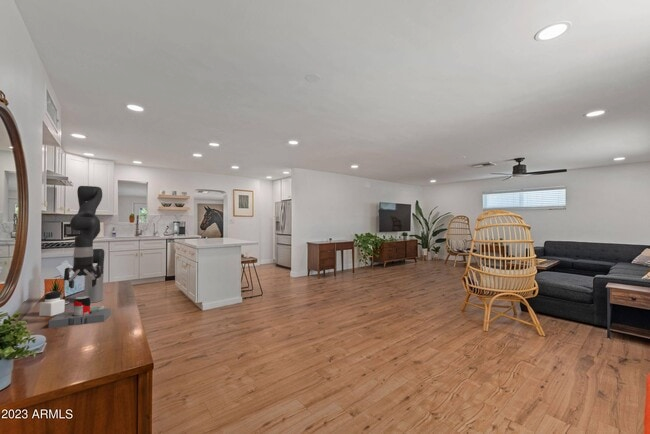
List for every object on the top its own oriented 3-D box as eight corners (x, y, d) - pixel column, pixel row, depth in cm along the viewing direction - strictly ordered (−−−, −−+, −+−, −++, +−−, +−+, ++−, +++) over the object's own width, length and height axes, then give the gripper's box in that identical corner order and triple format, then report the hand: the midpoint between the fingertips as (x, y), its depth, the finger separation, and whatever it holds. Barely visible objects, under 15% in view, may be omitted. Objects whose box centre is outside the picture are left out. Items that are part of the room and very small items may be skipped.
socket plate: (48, 328, 129) (48, 320, 129) (60, 320, 140) (60, 313, 140) (103, 321, 138) (104, 314, 138) (110, 314, 149) (110, 308, 149)
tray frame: (77, 311, 153) (77, 308, 153) (104, 309, 158) (104, 305, 158) (68, 318, 142) (68, 314, 142) (97, 315, 147) (97, 311, 147)
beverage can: (92, 319, 141) (93, 296, 142) (79, 323, 135) (79, 299, 136) (84, 318, 143) (84, 295, 143) (70, 322, 137) (70, 298, 137)
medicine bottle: (64, 312, 152) (65, 290, 153) (50, 316, 145) (51, 294, 146) (53, 311, 153) (54, 290, 153) (38, 316, 146) (39, 293, 146)
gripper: (103, 254, 146) (102, 284, 146) (68, 255, 140) (67, 287, 140) (98, 255, 140) (97, 287, 139) (62, 257, 133) (61, 290, 133)
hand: (82, 287), depth 140 cm, fingers open, 8 cm apart
